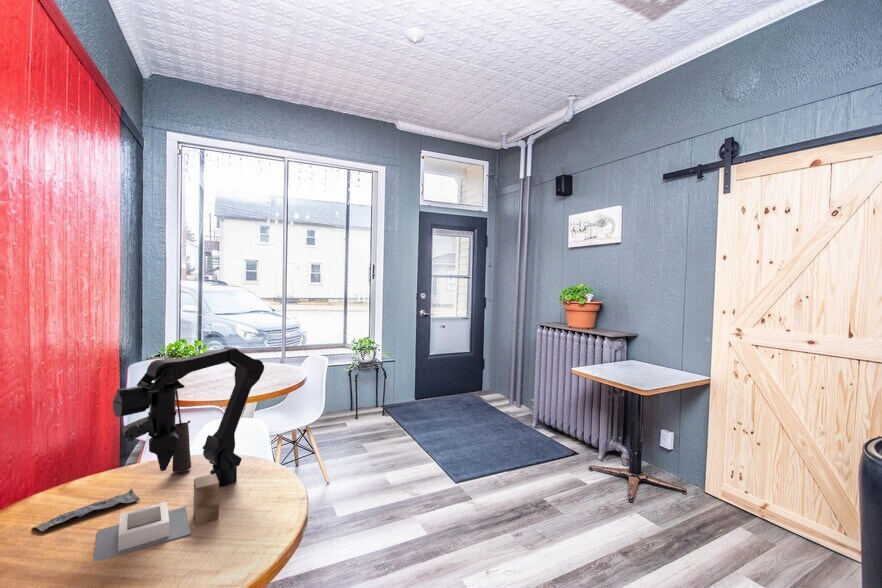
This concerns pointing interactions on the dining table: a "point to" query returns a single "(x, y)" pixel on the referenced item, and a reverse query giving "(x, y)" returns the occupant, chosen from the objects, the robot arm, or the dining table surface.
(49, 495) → the dining table surface
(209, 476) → the wooden block
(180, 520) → the square frame on plate
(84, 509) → the grey flat stone bar
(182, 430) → the butter churn
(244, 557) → the dining table surface
